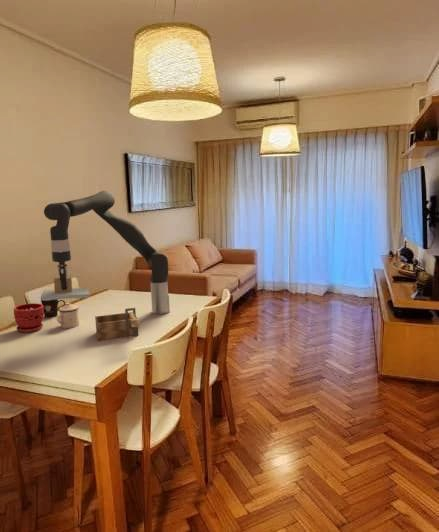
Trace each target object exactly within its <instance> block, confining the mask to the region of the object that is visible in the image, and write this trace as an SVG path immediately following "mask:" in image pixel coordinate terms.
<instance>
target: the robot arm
mask: <svg viewBox="0 0 439 532" xmlns="http://www.w3.org/2000/svg"><path fill="white" fill-rule="evenodd" d="M115 201H116V200H115V197H114V196H113V194H112V193H111V192H109V191H107V190H101V191H99V192H97V193H95V194H92V195H90V196H87V197H86V196H85V197H81V198H78V199H73V200H68V201H62V202H54V203H53V202H52V203H49V204H47V205H45V207H44V208H43V214H44V216H45V218H46V219H48V220H50V221H56V225H53V226H51V227H50V230H49V233H50V250H51V260H52V262H54V263H58V264H57V271H58V277H59V278H60V281H61V288H62V290H67V282H66V281H67V279H66V278H68V264H67V263H66V262H70V261H71V259H72V256H71V255H72V254H71V246H70V240H69V232H68V231H69V227H70V225H69V224H70V219H71V217H72V218H73V217H77V216H81V215H83V214H86V213H88V212H91V211H93V212H94V213H95V214H97V215H98V216H99V217H100V218H101V219H102V220H103V221H104V222H106V223H107V224H108V225H109V226H110V227H112V229H113V230H114V231H116V233H117V234H119V236H120V237H121V238H122V239H123V240H124V241H125V242H126V243H127V244H128V245H129V246H130V247H132V249H134V250H135V251H137V252H138V253H139V254H140V256H141V257H142V258H143V260H145V262H146V263H147V264H148V265H149V266H150V267H151V276H150V277H149V278H150V280H149V281H150V296H151V297H150V298H151V313H152V314H155V315H160V314H161V315H162V314H167V313H170V311H171V310H170V309H171V308H170V296H169V289H168V288H169V286H168V284H169V283H168V277H169V261H168V260H169V259H168V257H167V256H166V254H164V253H162V252H159V251H158V250H157V249H156V248H154V247H153V246H152V245H151V244H150V243H149V242H148V240H147V238H146V237H145V235H144V234H143V232H142V231H141V230H140V229H139V228H138V226H137V225H136V224H134V222H132V221H130V220H127V219H125V218H122V217H120V216H117V215H115V214H114V213H113V212H111V210H110V209H112V208H113V207H114V205H115V203H116V202H115Z"/></svg>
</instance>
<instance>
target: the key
mask: <svg viewBox="0 0 439 532" xmlns="http://www.w3.org/2000/svg"><path fill="white" fill-rule="evenodd" d="M130 312H131V313H130ZM130 312H128V313H129V317H130V320H131V326H132V327H138V328H139V326H140V325H139V318H137V319H136V318H135V316H134V314H133V311H130Z"/></svg>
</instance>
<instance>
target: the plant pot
mask: <svg viewBox="0 0 439 532" xmlns="http://www.w3.org/2000/svg"><path fill="white" fill-rule="evenodd" d="M13 317H14V319H15V322H16V325H17V326H16V330H17V331H18V332H19V333H32V332H36V331H37V332H38V331H39V330H41V329H42V327H43V326H44V325H43V323H42V322H43V320H44V307H43V305H42V303H36V302H35V303H33V302H32V303H31V302H30V303H23V304H18V305H16V306H14V307H13Z"/></svg>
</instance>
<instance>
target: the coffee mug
mask: <svg viewBox="0 0 439 532" xmlns="http://www.w3.org/2000/svg"><path fill="white" fill-rule="evenodd" d="M59 302H63V305H62V307H63V306H65V305H66V302H65V301H64V299H54V300H41V299H40V304H42V305H43V307H44V315H43V317H44V318H45V319H48V318H49V319H51V318H55V317H56V318H57V317H58V312H59V309H60V308H59V306H58V305H59Z"/></svg>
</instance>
